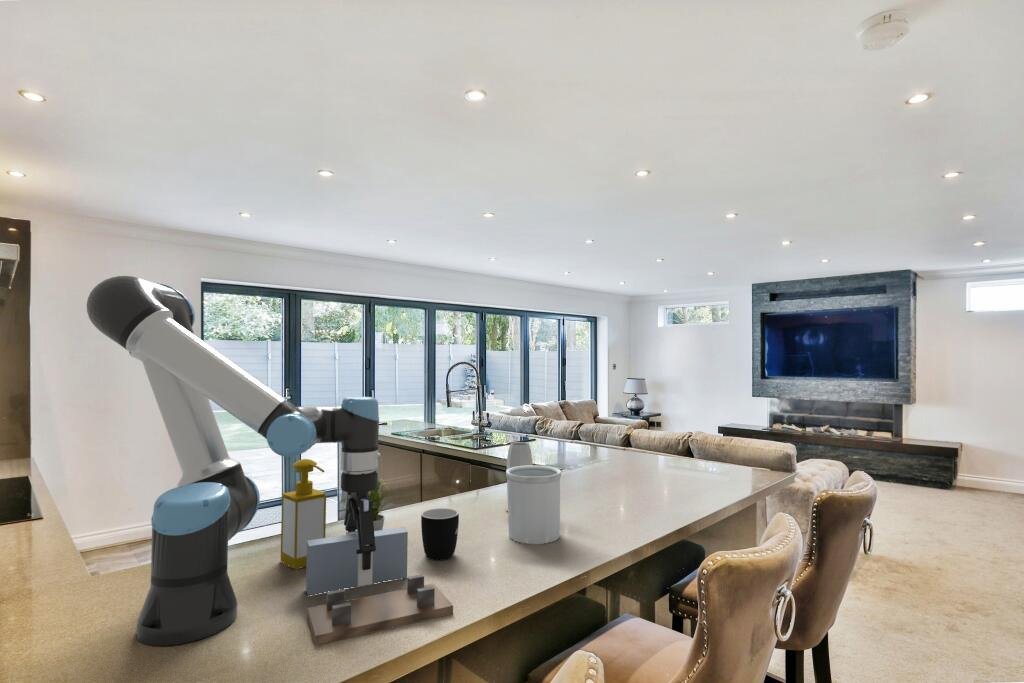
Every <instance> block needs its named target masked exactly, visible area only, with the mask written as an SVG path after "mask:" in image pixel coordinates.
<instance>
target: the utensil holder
mask: <svg viewBox="0 0 1024 683" xmlns="http://www.w3.org/2000/svg"><path fill="white" fill-rule="evenodd" d="M505 476H506V479H507V480H506V489H507V490H506V491H507V492H506V493H507V507H508V512H507V523H508V526H507V527H508V537H509V539H511V540H512V539H513V540H514V542H516V541H517V543H519V542H521V543H520V544H524V543H527V544H526V545H544V543H545V544H550V543H552V542H555V541H557V540H558V539H559V538H560V535H561V534H560V530H561V528H560V526H561V478H562V470H561V469H559V468H557V467H554V466H549V465H548V466H547V465H538V464H537V465H535V464H534V465H533V464H532V465H525V466H517V467H512V468H509V469H507V468H506V470H505ZM513 540H512V541H513ZM549 542H550V543H549Z"/></svg>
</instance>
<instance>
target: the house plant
mask: <svg viewBox="0 0 1024 683" xmlns="http://www.w3.org/2000/svg"><path fill="white" fill-rule="evenodd" d="M383 480H384V478H383V477H382V478H380V479H378V487H377V488H376V489H375V490H372V491H369V492H368V499H370V500H372V501H373V504H372V512H373V524H374V531H379V530H384V529H383V528H384V523H385V515H383V514H381V512H382V510H381V509H382V508H383V507H384V506H386V505H388V504H390V503H392V501H389V502H386V503H385V504H384V505H382V501H383V499H384V498H385V497H386V495H387V494H388V493H389V492H390V491H392V488H390V489H388V490H387V488H388V485H389V484H387V485H386V486H385V484H386V483H385V481H384V482H383V484H382V481H383ZM381 484H382V486H381ZM380 487H381V488H380ZM384 487H385V488H384ZM379 489H380V490H379ZM383 489H384V490H383ZM386 490H387V491H386ZM342 502H343V503H347V499H346V500H344V499H343V500H342ZM393 503H395V501H393ZM395 504H396V503H395Z"/></svg>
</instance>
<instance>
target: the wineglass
mask: <svg viewBox="0 0 1024 683" xmlns="http://www.w3.org/2000/svg"><path fill="white" fill-rule="evenodd" d="M530 446H531V445H530V443H528V442H523V441H522V442H521V441H519V442H518V441H514V442H511V443H509V447H508V451H507V456H506V457H507V458H506V470H507V469H509V468H512V467H517V466H525V465H533V458H532V450H531V447H530ZM506 510H507V511H508V506H506V507H505V511H506ZM507 511H506V512H507Z"/></svg>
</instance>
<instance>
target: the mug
mask: <svg viewBox="0 0 1024 683" xmlns="http://www.w3.org/2000/svg"><path fill="white" fill-rule="evenodd" d="M420 517H421V518H420V519H421V520H420V524H421V538H422V545H423V546H422V547H423V552H424V554H425V556H426V558H427V559H429V560H431V561H446V560H448V559H451V558H452V557H453V556H454V555H455V552H456V548H457V542H458V536H459V524H460V523H459V522H460V520H459V518H460V514H459V511H457V509H453V508H443V507H441V508H439V507H438V508H430V509H427V510H424V511H423V512H422V513H421V516H420Z"/></svg>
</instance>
